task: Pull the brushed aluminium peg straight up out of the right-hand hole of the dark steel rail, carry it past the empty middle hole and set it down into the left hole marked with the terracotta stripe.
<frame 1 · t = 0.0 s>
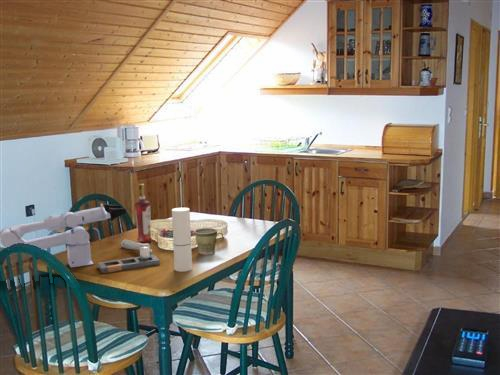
hand: (123, 209, 269), 22 cm above the table, tool horizontal, fingers open, 7 cm apart
rail: (128, 265, 261), on the table
liquor: (144, 242, 298), on the table
ceramic cup: (209, 253, 277), on the table
peg: (145, 263, 263), resting in rail
cylindrical container: (183, 269, 255), on the table
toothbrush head: (136, 253, 281), on the table
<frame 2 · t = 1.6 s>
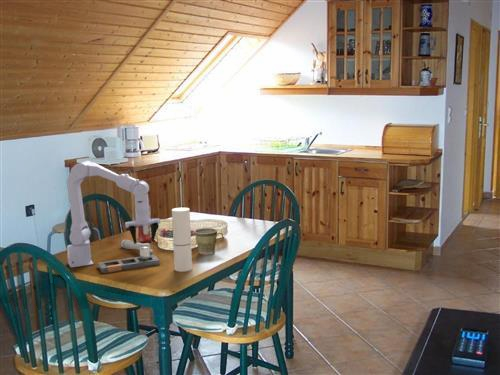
hand: (144, 242, 262), 9 cm above the table, tool pointing down, fingers open, 7 cm apart
nothing on the table moved.
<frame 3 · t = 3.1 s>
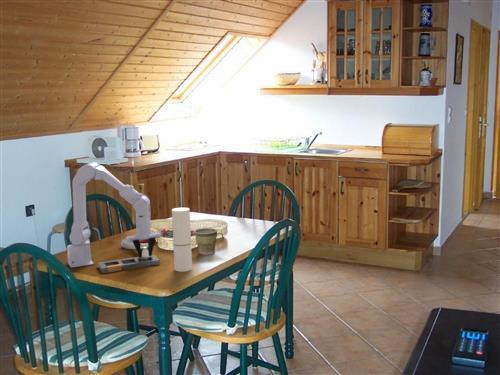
hand: (144, 256, 263), 3 cm above the table, tool pointing down, fingers closed on peg, 4 cm apart
peg: (145, 263, 263), resting in rail, touching gripper
everything else where it was.
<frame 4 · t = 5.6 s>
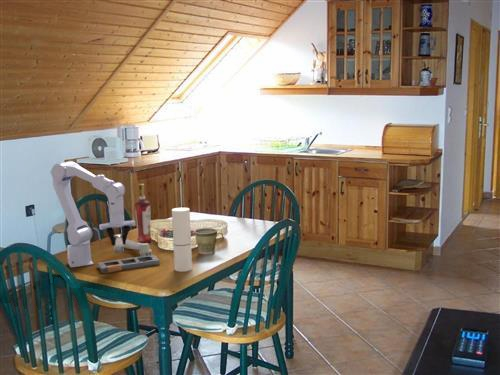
hand: (118, 244, 257), 10 cm above the table, tool pointing down, fingers closed on peg, 4 cm apart
peg: (119, 251, 258), point 7 cm above the table, touching gripper
everything else where it was.
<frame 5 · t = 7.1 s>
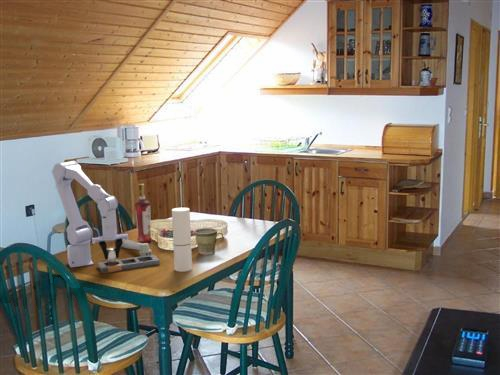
hand: (111, 257, 257), 5 cm above the table, tool pointing down, fingers closed on peg, 4 cm apart
peg: (112, 265, 257), point 1 cm above the table, touching gripper
everything else where it was.
when the fingers open (4 cm above the table, at t = 8.1 s): peg stays where it is, resting in rail.
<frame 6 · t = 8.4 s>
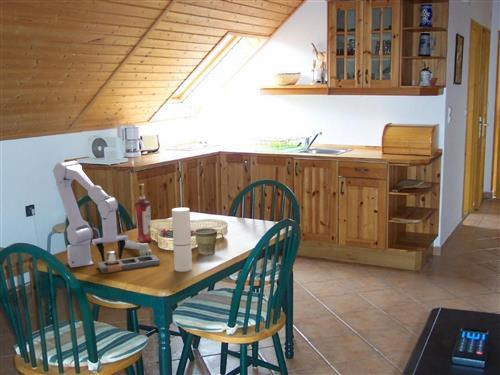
hand: (111, 259, 257), 4 cm above the table, tool pointing down, fingers open, 6 cm apart
peg: (112, 268, 258), resting in rail
everything else where it was.
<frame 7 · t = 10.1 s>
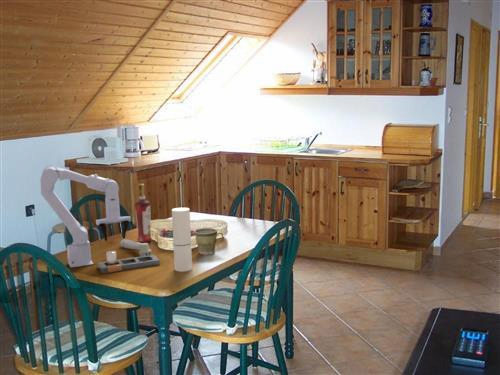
hand: (114, 239, 267), 9 cm above the table, tool pointing down, fingers open, 7 cm apart
nothing on the table moved.
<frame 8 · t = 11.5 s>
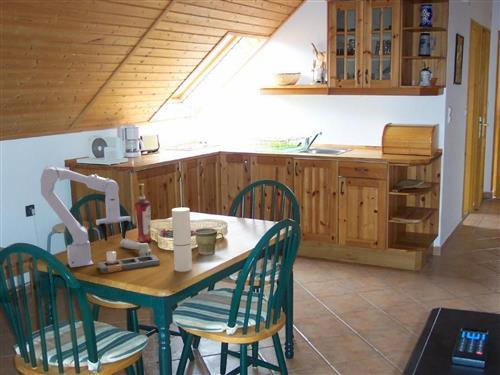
hand: (114, 239, 268), 9 cm above the table, tool pointing down, fingers open, 7 cm apart
nothing on the table moved.
at the end: peg 0.1 cm from the target spot on the rail, point 0.0 cm above the rail's base; peg tilted 0°; the gripper is holding nothing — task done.
